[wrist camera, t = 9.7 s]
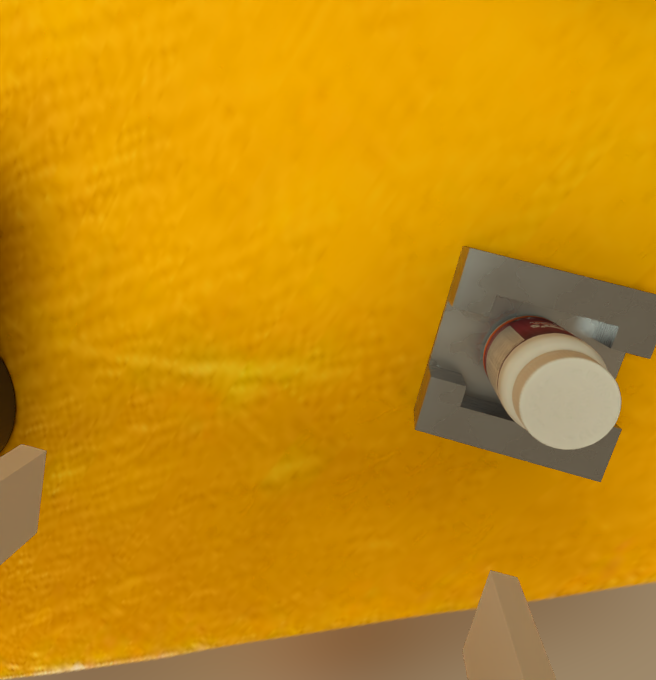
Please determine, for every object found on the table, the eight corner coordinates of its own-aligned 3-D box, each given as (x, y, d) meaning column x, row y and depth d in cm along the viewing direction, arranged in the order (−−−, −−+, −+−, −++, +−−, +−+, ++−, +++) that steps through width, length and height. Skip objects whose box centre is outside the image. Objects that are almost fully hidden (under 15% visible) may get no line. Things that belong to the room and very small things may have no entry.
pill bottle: (584, 334, 38) (658, 376, 27) (543, 409, 39) (597, 478, 28) (504, 300, 38) (543, 328, 27) (466, 375, 40) (489, 430, 29)
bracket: (413, 409, 41) (414, 429, 37) (462, 245, 39) (470, 247, 34) (580, 456, 40) (600, 482, 36) (643, 291, 37) (674, 299, 33)
